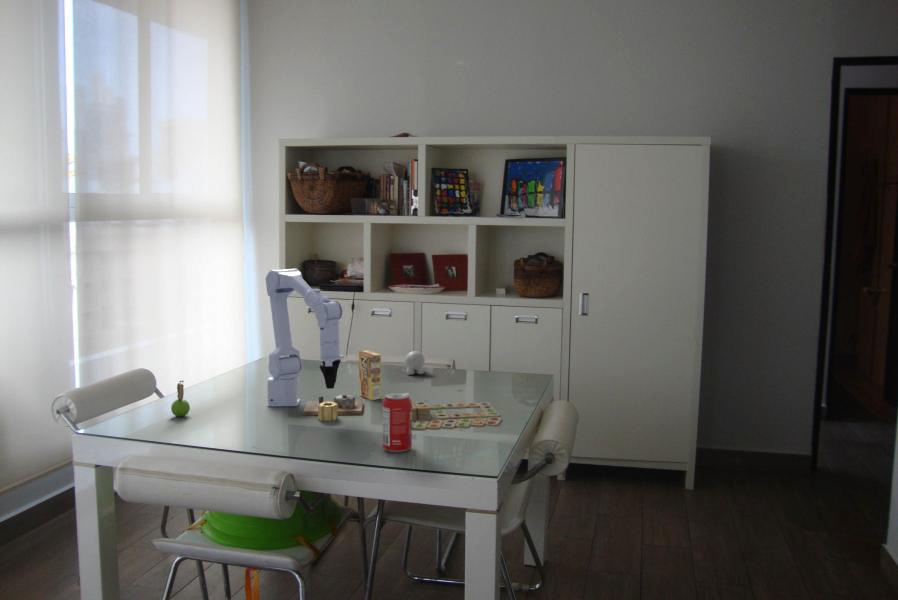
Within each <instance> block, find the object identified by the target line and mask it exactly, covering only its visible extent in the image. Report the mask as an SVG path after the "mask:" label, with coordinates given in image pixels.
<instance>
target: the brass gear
mask: <svg viewBox="0 0 898 600" xmlns="http://www.w3.org/2000/svg"><path fill="white" fill-rule="evenodd" d="M317 416H318V417H317V419H318V420H319V421H321V422H322V421H323V422H331V421H333V422H334V421H337V420H338V418H339V417H338V416H339V415H338V404H336V403H335V402H334V403H332V402H325V403H321V404H318V415H317Z"/></svg>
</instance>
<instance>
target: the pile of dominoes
mask: <svg viewBox="0 0 898 600" xmlns="http://www.w3.org/2000/svg"><path fill="white" fill-rule="evenodd" d="M466 408H467V409H471V408H472V409H473V408H474V409H476V408H479V409H480V410H481V411H482V412H474V413H471V412H470V413H469V412H467V413H449V414H447V411H445V410H448V409H451V410H452V409H466ZM430 409H433V410H434V411H432V415H433V414H434V415H433V416H434V418H436V419H433V420H432V419H431V410H430ZM444 409H445V410H444ZM487 418H488V419H487ZM438 419H443V420H438ZM502 421H503V419H502V418H501V413H499V412H498V411H497V409H495V408H494V406H493V405H492V404H491V403H490V402H489V401H488V402H487V401H486V402H467V403H465V402H464V403H463V402H462V403H460V402H459V403H443V404H441V403H440V404H438V403H436V404H434V403H433V404H431V403H430V404H428V403H427V402H426V401H415V402H413V401H412V431H426V430H441V429H450V430H452V429H455V428H459V429H460V428H462V429H468V428H470V427H475V428H476V427H477V428H481V427H482V428H483V427H485V426H488V427H491V426H492V427H497V426H499V425H500V424H501V422H502Z"/></svg>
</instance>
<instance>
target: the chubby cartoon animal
mask: <svg viewBox="0 0 898 600" xmlns="http://www.w3.org/2000/svg"><path fill="white" fill-rule="evenodd" d="M425 362H426V361H425V356H424V354H423V353H422V352H420V351H419V350H413V351H409V353H407V354H406V356H405V358H404V363H405V366H406V367H407V368H406V374H407V375H408V376H413V375H415V374H417V375H424V365H425Z"/></svg>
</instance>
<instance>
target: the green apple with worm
mask: <svg viewBox="0 0 898 600" xmlns="http://www.w3.org/2000/svg"><path fill="white" fill-rule="evenodd" d="M184 387H185V386H184V380H179V383H177V384H176V389H177V390H176V391H177V399H175V400H174V401H173V402H172V403H171V406H170V407H171V413H172V415H174V416H175V417H178V418H182V417H185V416H187V415H188V414H189V412H190V409H191V406H190V403H189V401H187V400H186V399H184Z"/></svg>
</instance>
